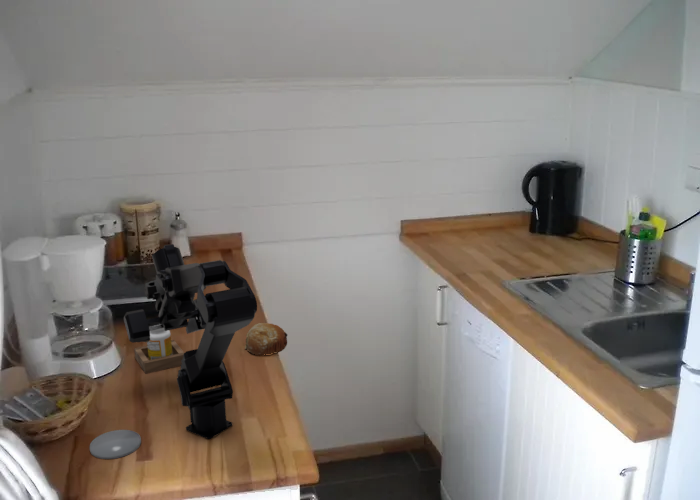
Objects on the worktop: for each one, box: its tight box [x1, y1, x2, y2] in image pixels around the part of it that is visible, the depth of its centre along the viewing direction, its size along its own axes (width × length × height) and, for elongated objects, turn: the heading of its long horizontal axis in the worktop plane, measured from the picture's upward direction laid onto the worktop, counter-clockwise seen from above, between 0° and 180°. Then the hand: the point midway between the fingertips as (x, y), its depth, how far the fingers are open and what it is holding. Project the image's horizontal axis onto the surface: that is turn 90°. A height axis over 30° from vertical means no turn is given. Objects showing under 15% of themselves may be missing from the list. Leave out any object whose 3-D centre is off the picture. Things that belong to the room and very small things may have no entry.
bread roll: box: [244, 322, 288, 356], centre depth 174 cm, size 10×10×8 cm
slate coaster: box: [89, 429, 142, 460], centre depth 133 cm, size 9×9×1 cm
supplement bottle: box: [146, 324, 173, 360], centre depth 166 cm, size 5×5×10 cm
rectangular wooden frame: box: [133, 339, 185, 374], centre depth 167 cm, size 9×9×2 cm
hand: (166, 335), depth 159 cm, fingers open, 9 cm apart
